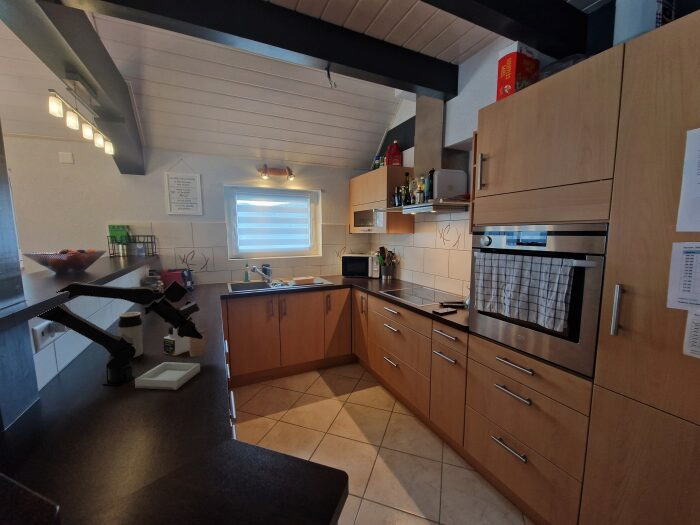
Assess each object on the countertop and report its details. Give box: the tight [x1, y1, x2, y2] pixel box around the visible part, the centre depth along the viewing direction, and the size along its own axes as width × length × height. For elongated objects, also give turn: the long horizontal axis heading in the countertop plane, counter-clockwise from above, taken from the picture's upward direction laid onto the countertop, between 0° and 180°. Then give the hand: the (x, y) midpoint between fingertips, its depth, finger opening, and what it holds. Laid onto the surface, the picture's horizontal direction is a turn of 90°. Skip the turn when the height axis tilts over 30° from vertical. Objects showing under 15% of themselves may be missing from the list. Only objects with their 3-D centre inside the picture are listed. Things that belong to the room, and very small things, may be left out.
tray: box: [134, 361, 201, 391], centre depth 102 cm, size 14×14×3 cm
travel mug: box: [117, 311, 144, 359], centre depth 122 cm, size 8×8×18 cm
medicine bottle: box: [163, 325, 189, 356], centre depth 128 cm, size 7×7×12 cm
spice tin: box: [188, 328, 206, 357], centre depth 114 cm, size 5×5×9 cm
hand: (201, 336), depth 114 cm, fingers closed on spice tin, 5 cm apart
